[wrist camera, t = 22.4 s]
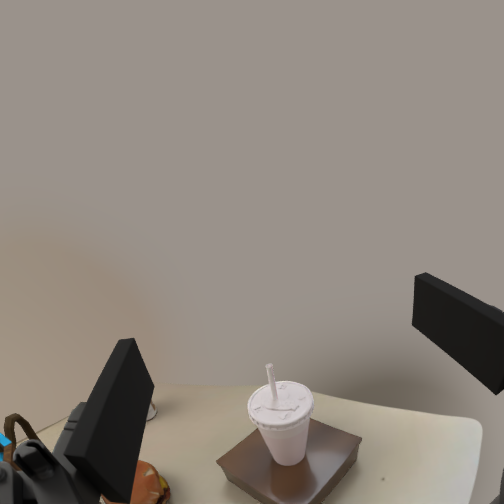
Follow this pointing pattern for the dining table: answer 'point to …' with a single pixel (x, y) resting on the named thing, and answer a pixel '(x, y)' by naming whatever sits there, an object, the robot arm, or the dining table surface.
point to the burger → (147, 486)
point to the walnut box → (292, 466)
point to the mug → (13, 438)
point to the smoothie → (282, 417)
